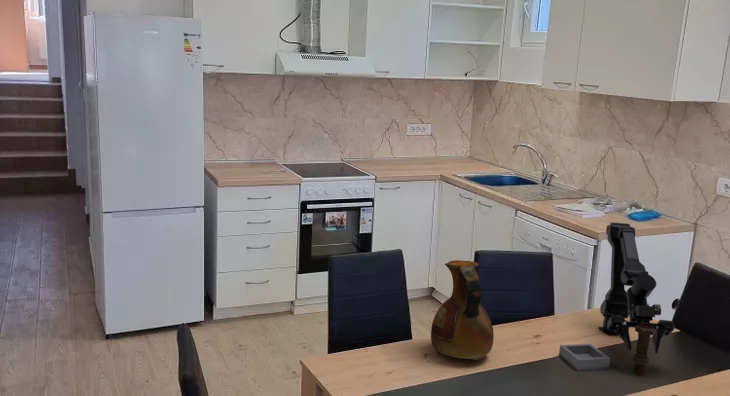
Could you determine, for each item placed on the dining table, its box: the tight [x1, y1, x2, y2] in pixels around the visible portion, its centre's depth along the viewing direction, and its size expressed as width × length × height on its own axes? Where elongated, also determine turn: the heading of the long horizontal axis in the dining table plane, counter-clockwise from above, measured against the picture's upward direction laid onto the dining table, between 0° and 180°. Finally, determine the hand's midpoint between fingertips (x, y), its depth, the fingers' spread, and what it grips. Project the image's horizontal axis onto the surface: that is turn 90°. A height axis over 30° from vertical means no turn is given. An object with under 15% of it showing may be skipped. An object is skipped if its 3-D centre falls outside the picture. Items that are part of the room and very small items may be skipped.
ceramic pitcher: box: [430, 259, 495, 361], centre depth 204 cm, size 20×20×30 cm
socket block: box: [558, 343, 611, 372], centre depth 206 cm, size 11×11×4 cm
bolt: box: [631, 324, 655, 376], centre depth 199 cm, size 6×5×15 cm
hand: (643, 351), depth 198 cm, fingers open, 7 cm apart
